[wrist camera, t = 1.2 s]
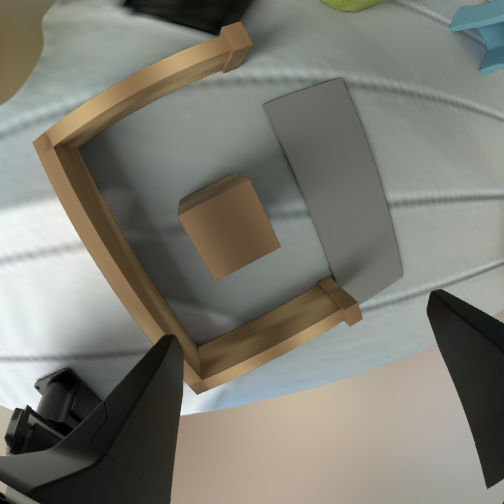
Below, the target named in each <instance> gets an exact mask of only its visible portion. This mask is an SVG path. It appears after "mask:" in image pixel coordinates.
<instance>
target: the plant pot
mask: <svg viewBox="0 0 504 504" xmlns="http://www.w3.org/2000/svg"><path fill="white" fill-rule="evenodd" d="M321 1H323V2H324V3H325V4H327V5H329V6H330V7H332V8H334V9H337V10H340V11H350V12H357V11H360V10H362V9H365V8H368V7H370V6H373V5H376V4H378V3H381V2H384V1H387V0H321Z"/></svg>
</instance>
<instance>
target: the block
mask: <svg viewBox="0 0 504 504" xmlns="http://www.w3.org/2000/svg"><path fill="white" fill-rule="evenodd" d="M178 218H179V220H180V222H181V224H182V225H183V227H184V229H185V231H186V233H187V234H188V236H189V238H190V240H191V241H192V243H193V245H194V247H195V249H196V250H197V252H198V254H199V256H200V257H201V259H202V261H203V263H204V264H205V266H206V268H207V270H208V271H209V273H210V275H211V276H212V278H213V280H214V282H215V281H217V280H218V279H220V278H222V277H224V276H226V275H228V274H230V273H232V272H234V271H236V270H238V269H240V268H241V267H243V266H245V265H247V264H249V263H251V262H253V261H255V260H257V259H259V258H261V257H262V256H264V255H266V254H268V253H270V252H272V251H274V250H276V249H278V248H280V247H281V246H280V244H279V241H278V239H277V237H276V235H275V232H274V230H273V228H272V226H271V224H270V221H269V219H268V217H267V215H266V213H265V211H264V208H263V206H262V204H261V202H260V200H259V198H258V195H257V193H256V191H255V189H254V187H253V185H252V183H251V181H250V179H248V178H246V177H243V176H240V175H238V174H235V173H232V174H230V175H228V176H226V177H224V178H222V179H220V180H218V181H216V182H214V183H212V184H210V185H208V186H206V187H204V188H202V189H200V190H199V191H197V192H195V193H193V194H191V195H189V196H187V197H185V198H183V199H182V200H180V204H179V210H178Z"/></svg>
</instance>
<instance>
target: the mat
mask: <svg viewBox="0 0 504 504" xmlns="http://www.w3.org/2000/svg"><path fill="white" fill-rule="evenodd" d="M263 107H264V109H265V112H266V114H267V116H268V118H269V120H270V122H271V124H272V126H273V129H274V131H275V133H276V135H277V137H278V140H279V142H280V144H281V146H282V149H283V151H284V153H285V155H286V158H287V160H288V162H289V165H290V167H291V169H292V172H293V174H294V176H295V179H296V181H297V183H298V186H299V188H300V191H301V193H302V195H303V198H304V200H305V203H306V205H307V208H308V210H309V213H310V215H311V218H312V220H313V223H314V226H315V228H316V231H317V233H318V236H319V239H320V241H321V244H322V247H323V249H324V252H325V255H326V257H327V260H328V263H329V266H330V268H331V271H332V274H333V277H334V280H335V282H336V283H337V284H338V285H339V286H341V287H342V288H343V289H344V290H345V291H346V292H347V293H348V294H349V295H351V296H352V297H353V298H354V299H355V300H356V301H357V302H358V304H359V305H360V304H361V303H363V302H364V301H366V300H368V299H369V298H371V297H372V296H374V295H375V294H377V293H378V292H380V291H382V290H383V289H385V288H386V287H388V286H389V285H391V284H392V283H394V282H395V281H397V280H398V279H400V278H401V277H402V276H403V274H402V268H401V263H400V258H399V253H398V248H397V244H396V239H395V235H394V231H393V227H392V223H391V219H390V215H389V211H388V207H387V203H386V200H385V196H384V193H383V189H382V186H381V182H380V179H379V176H378V173H377V169H376V166H375V163H374V160H373V157H372V154H371V151H370V148H369V145H368V143H367V140H366V137H365V134H364V131H363V129H362V126H361V123H360V121H359V118H358V116H357V113H356V111H355V108H354V106H353V103H352V101H351V99H350V96H349V94H348V91H347V89H346V87H345V85H344V82H343V80H342V78H339V79H335V80H332V81H329V82H325V83H322V84H319V85H316V86H313V87H310V88H307V89H304V90H301V91H298V92H295V93H293V94H290V95H287V96H284V97H282V98H279V99H276V100H274V101H271V102H269V103H266V104H264V105H263Z"/></svg>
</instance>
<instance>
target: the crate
mask: <svg viewBox="0 0 504 504" xmlns="http://www.w3.org/2000/svg"><path fill="white" fill-rule="evenodd" d="M252 46H253V43H252V41H251V39H250V37H249V35H248V34H247V32H246V30H245V28H244V26H243V25H242V23H241V21H240V22H237V23H234V24H231V25H228V26H224V27H222V29H221V32H220V35H219V37H216V38H214V39H211V40H208V41H205V42H203V43H200V44H198V45H195V46H193V47H190V48H188V49H185V50H183V51H181V52H178V53H176V54H174V55H172V56H169V57H167V58H165V59H163V60H161V61H159V62H157V63H154V64H152V65H150V66H148V67H146V68H144V69H142V70H141V71H139V72H137V73H135V74H133V75H131V76H129V77H127V78H126V79H124V80H122V81H120V82H119V83H117V84H115V85H113V86H112V87H110V88H108V89H107V90H105V91H103V92H102V93H100V94H98V95H97V96H95V97H94V98H92V99H91V100H89V101H87V102H86V103H84V104H83V105H81V106H80V107H79V108H77V109H76V110H74V111H73V112H71V113H70V114H68V115H67V116H66V117H64V118H63V119H62V120H60V121H59V122H58V123H56V124H55V125H54V126H52V127H51V128H50V129H48V130H47V131H46V132H45V133H43V134H42V135H41V136H40V137H38V138H37V139H36V140H35V141H33V145H34V147H35V149H36V152H37V154H38V156H39V158H40V161H41V163H42V165H43V167H44V170H45V172H46V174H47V176H48V178H49V180H50V182H51V184H52V186H53V188H54V190H55V192H56V194H57V196H58V198H59V200H60V202H61V204H62V206H63V208H64V210H65V212H66V213H67V215H68V217H69V219H70V221H71V223H72V224H73V226H74V228H75V230H76V231H77V233H78V235H79V237H80V238H81V240H82V242H83V243H84V245H85V247H86V248H87V250H88V252H89V253H90V255H91V256H92V258H93V260H94V261H95V263H96V264H97V266H98V268H99V269H100V271H101V272H102V274H103V275H104V277H105V278H106V280H107V281H108V283H109V284H110V286H111V287H112V289H113V290H114V292H115V293H116V295H117V296H118V297H119V299H120V300H121V302H122V303H123V305H124V306H125V307H126V309H127V310H128V311H129V313H130V314H131V316H132V317H133V318H134V320H135V321H136V322H137V324H138V325H139V326H140V328H141V329H142V330H143V331H144V333H145V334H146V335H147V337H148V338H149V339H150V340H151V342H152V343H153V344H154V345H155V344H156V342H157V341H158V340H159V339H160V338H161V337H162V336H163V335H166V334H175V335H176V336H177V338H178V340H179V342H180V344H181V346H182V348H183V351H184V376H183V380H184V381H185V382H186V383H187V384H188V385H189V387H190V388H191V389H192V390H193V391H194V392H195V393H196V394H197V395H198V394H200V393H202V392H205V391H207V390H209V389H212V388H214V387H216V386H219V385H221V384H223V383H225V382H228V381H230V380H232V379H234V378H236V377H238V376H241V375H243V374H245V373H247V372H249V371H251V370H253V369H255V368H257V367H259V366H261V365H263V364H265V363H267V362H269V361H271V360H273V359H275V358H277V357H279V356H281V355H283V354H285V353H287V352H289V351H291V350H293V349H294V348H296V347H298V346H300V345H302V344H304V343H305V342H307V341H309V340H311V339H313V338H314V337H316V336H318V335H320V334H322V333H323V332H325V331H327V330H329V329H330V328H332V327H334V326H335V325H337V324H339V323H340V322H342V321H345V322H346V323H347V324H348V325H349V326H352V325H354V324H355V323H357V322H359V321H360V320H362V319H363V318H362V315H361V311H360V308H359V304H358V302H357V301H356V300H355V299H354V298H353V297H352V296H351V295H349V294H348V293H347V292H346V291H345V290H344V289H343V288H342V287H341V286H339V285H338V284H337V283H336V282H335V281H334V280H333V279H332V278H330V277H329V276H328V277H326V278H324V279H322V280H321V281H319V282H317V283H318V286H316V287H314V288H312V289H310V290H309V291H307V292H305V293H303V294H301V295H300V296H298V297H296V298H294V299H292V300H290V301H289V302H287V303H285V304H283V305H281V306H279V307H277V308H275V309H274V310H272V311H270V312H268V313H266V314H264V315H262V316H260V317H258V318H256V319H254V320H253V321H251V322H249V323H247V324H245V325H243V326H241V327H239V328H237V329H235V330H233V331H231V332H229V333H227V334H225V335H223V336H221V337H219V338H217V339H215V340H213V341H210V342H208V343H206V344H204V345H202V346H200V347H198V346H197V345H196V344H195V342H194V341H193V340H192V338H191V337H190V335H189V334H188V333H187V331H186V330H185V329H184V327H183V326H182V324H181V323H180V322H179V320H178V319H177V317H176V316H175V314H174V313H173V312H172V310H171V309H170V307H169V306H168V304H167V303H166V301H165V300H164V298H163V297H162V295H161V294H160V292H159V291H158V289H157V288H156V286H155V285H154V283H153V282H152V280H151V279H150V277H149V276H148V274H147V272H146V271H145V269H144V268H143V266H142V265H141V263H140V261H139V260H138V258H137V257H136V255H135V253H134V252H133V250H132V248H131V247H130V245H129V243H128V242H127V240H126V238H125V237H124V235H123V233H122V231H121V230H120V228H119V226H118V225H117V223H116V221H115V219H114V218H113V216H112V214H111V212H110V210H109V209H108V207H107V205H106V203H105V201H104V199H103V198H102V196H101V194H100V192H99V190H98V188H97V186H96V184H95V182H94V180H93V178H92V176H91V174H90V173H89V171H88V169H87V166H86V164H85V162H84V160H83V158H82V156H81V154H80V152H79V150H78V147H79V146H80V145H82V144H83V143H85V142H86V141H88V140H89V139H91V138H92V137H94V136H95V135H97V134H98V133H100V132H101V131H103V130H105V129H106V128H108V127H109V126H111V125H113V124H114V123H116V122H118V121H119V120H121V119H123V118H124V117H126V116H128V115H130V114H131V113H133V112H135V111H137V110H138V109H140V108H142V107H144V106H146V105H148V104H149V103H151V102H153V101H155V100H157V99H159V98H161V97H163V96H165V95H167V94H169V93H171V92H173V91H175V90H177V89H179V88H182V87H184V86H186V85H188V84H190V83H192V82H195V81H197V80H199V79H202V78H204V77H206V76H209V75H211V74H213V73H216V72H218V71H221V70H222V71H223V73H226V72H228V71H231V70H234V69H236V68H238V67H239V66H240V64H241V63H242V61H243V59H244V58H245V56H246V55H247V53H248V52H249V50H250V49H251V47H252Z"/></svg>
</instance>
